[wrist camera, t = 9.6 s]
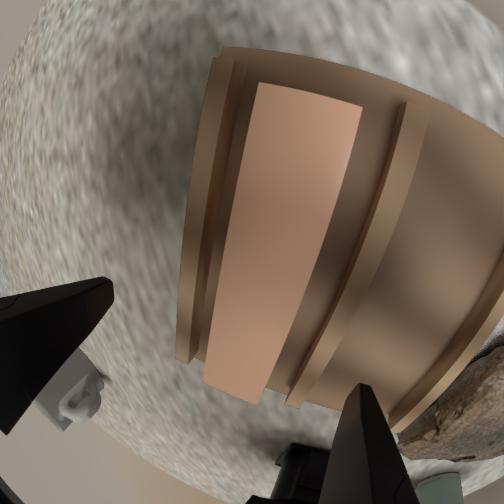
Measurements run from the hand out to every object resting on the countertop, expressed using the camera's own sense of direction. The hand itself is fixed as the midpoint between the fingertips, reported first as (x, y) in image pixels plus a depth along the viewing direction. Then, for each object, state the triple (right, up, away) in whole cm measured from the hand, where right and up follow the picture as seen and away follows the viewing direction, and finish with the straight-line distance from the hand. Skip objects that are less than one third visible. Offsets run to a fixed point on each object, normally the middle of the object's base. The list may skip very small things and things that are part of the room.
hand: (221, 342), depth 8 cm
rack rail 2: (+14, -1, +4) cm, 14 cm away
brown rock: (+24, -11, +5) cm, 27 cm away
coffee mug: (-22, -14, +23) cm, 35 cm away
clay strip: (+2, +2, +6) cm, 7 cm away
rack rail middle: (+6, +2, +6) cm, 9 cm away
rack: (+6, +2, +6) cm, 9 cm away
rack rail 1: (-1, +4, +7) cm, 9 cm away
